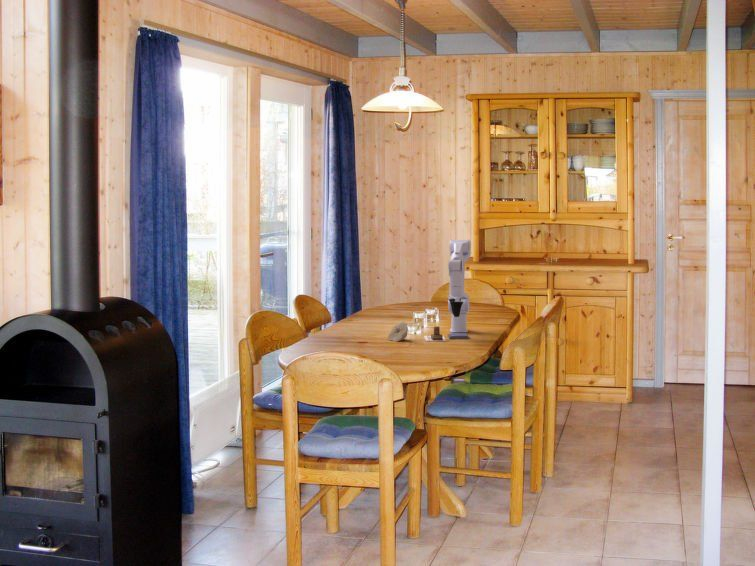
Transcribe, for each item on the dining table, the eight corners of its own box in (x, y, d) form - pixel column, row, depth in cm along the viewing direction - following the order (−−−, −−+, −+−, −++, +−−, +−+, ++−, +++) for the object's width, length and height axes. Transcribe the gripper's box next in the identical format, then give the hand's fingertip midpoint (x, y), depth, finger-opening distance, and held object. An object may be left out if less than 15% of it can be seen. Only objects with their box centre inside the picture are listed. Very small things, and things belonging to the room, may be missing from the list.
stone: (387, 344, 419) (383, 324, 424) (392, 349, 425) (388, 329, 430) (408, 337, 417) (404, 317, 421) (413, 342, 422) (409, 322, 427)
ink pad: (447, 335, 432) (447, 333, 432) (467, 335, 433) (467, 332, 432) (449, 339, 423) (449, 336, 423) (469, 338, 424) (469, 336, 423)
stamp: (431, 338, 424) (430, 326, 424) (440, 338, 425) (440, 325, 424) (433, 340, 420) (432, 327, 419) (442, 339, 421) (442, 327, 420)
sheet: (423, 336, 433) (423, 335, 433) (443, 335, 433) (443, 335, 433) (425, 341, 419) (425, 340, 419) (445, 340, 419) (445, 340, 419)
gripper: (445, 284, 434) (445, 313, 435) (448, 287, 419) (448, 318, 421) (460, 284, 434) (460, 313, 435) (464, 287, 419) (464, 317, 421)
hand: (455, 315), depth 428 cm, fingers open, 7 cm apart
